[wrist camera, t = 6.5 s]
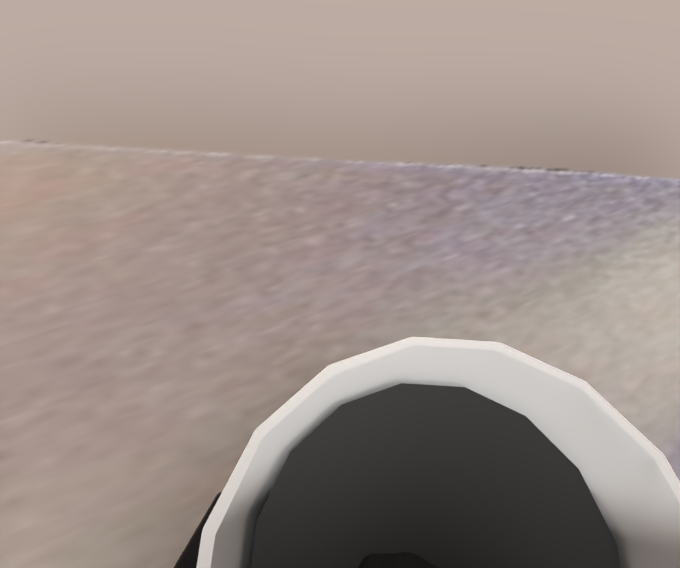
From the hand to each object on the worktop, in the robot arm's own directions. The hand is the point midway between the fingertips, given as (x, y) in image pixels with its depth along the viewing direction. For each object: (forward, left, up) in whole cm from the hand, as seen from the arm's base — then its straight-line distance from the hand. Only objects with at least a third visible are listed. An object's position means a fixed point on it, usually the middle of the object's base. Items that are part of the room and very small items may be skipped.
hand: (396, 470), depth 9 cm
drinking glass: (0, +1, -7) cm, 7 cm away
